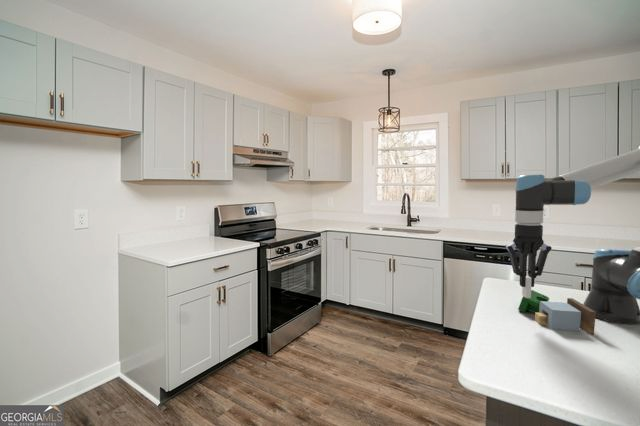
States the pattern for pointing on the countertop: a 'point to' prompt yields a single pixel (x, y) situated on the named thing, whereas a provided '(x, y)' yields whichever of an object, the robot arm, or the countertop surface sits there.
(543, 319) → the tan rectangular bar
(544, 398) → the countertop surface
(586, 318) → the wall
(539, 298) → the clamp
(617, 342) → the countertop surface
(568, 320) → the block
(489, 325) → the countertop surface
